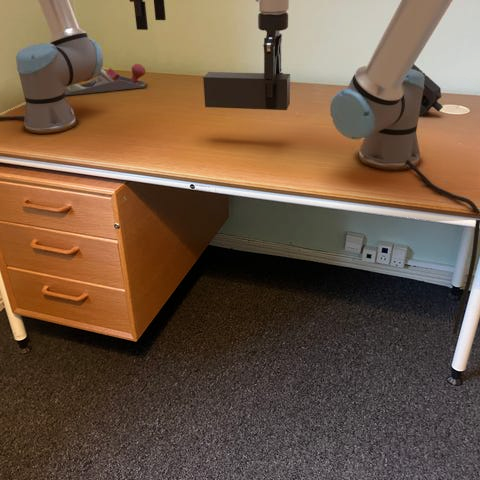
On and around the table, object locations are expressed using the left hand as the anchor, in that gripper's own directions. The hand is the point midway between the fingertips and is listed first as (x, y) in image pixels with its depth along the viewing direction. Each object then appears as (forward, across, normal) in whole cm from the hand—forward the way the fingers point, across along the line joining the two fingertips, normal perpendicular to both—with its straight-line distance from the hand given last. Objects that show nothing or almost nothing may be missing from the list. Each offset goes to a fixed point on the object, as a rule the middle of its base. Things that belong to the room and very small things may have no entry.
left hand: (151, 24), depth 140 cm
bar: (+20, +1, +26) cm, 33 cm away
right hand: (+19, +1, +33) cm, 38 cm away
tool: (+31, -34, +71) cm, 85 cm away
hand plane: (+31, -42, -37) cm, 64 cm away
